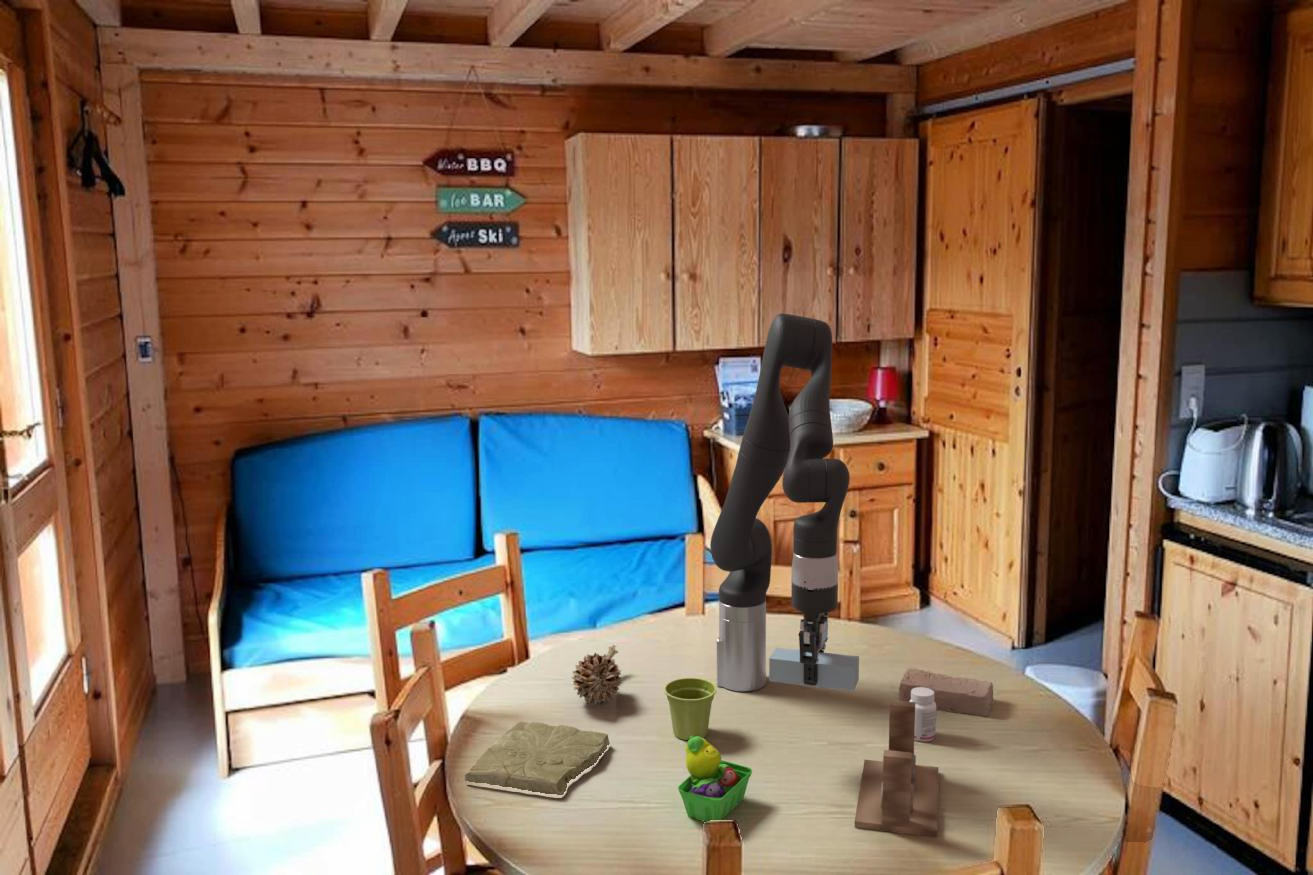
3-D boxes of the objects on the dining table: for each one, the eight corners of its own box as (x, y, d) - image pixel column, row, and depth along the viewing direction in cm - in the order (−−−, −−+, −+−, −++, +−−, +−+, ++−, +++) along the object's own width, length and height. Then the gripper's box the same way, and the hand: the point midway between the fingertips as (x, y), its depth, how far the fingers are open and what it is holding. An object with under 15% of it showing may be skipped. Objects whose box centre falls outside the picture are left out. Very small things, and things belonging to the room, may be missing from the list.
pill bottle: (937, 732, 194) (939, 688, 193) (932, 744, 190) (934, 698, 189) (910, 728, 196) (912, 684, 195) (905, 739, 192) (906, 694, 191)
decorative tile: (463, 787, 179) (462, 767, 178) (518, 734, 198) (518, 716, 197) (568, 805, 173) (567, 784, 172) (614, 749, 191) (614, 730, 191)
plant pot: (727, 732, 196) (727, 686, 194) (693, 750, 189) (692, 703, 188) (688, 717, 202) (688, 673, 201) (653, 734, 196) (653, 689, 194)
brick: (993, 701, 208) (994, 677, 207) (988, 719, 200) (989, 694, 199) (905, 689, 214) (906, 666, 213) (897, 705, 207) (897, 682, 206)
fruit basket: (719, 832, 164) (719, 762, 162) (669, 816, 168) (668, 748, 166) (754, 798, 173) (754, 732, 171) (705, 784, 178) (705, 719, 176)
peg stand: (854, 827, 164) (855, 753, 162) (864, 764, 183) (865, 697, 181) (936, 837, 161) (939, 761, 159) (938, 772, 180) (940, 704, 178)
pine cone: (618, 718, 202) (617, 668, 200) (567, 717, 203) (565, 667, 201) (631, 671, 224) (630, 625, 222) (585, 670, 225) (583, 624, 223)
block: (854, 691, 177) (854, 667, 176) (769, 681, 181) (769, 658, 180) (858, 679, 181) (859, 656, 180) (775, 669, 186) (775, 647, 185)
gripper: (800, 564, 186) (799, 659, 189) (782, 590, 172) (782, 692, 175) (844, 568, 183) (843, 663, 186) (830, 595, 170) (828, 697, 173)
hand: (813, 677), depth 181 cm, fingers closed on block, 5 cm apart
